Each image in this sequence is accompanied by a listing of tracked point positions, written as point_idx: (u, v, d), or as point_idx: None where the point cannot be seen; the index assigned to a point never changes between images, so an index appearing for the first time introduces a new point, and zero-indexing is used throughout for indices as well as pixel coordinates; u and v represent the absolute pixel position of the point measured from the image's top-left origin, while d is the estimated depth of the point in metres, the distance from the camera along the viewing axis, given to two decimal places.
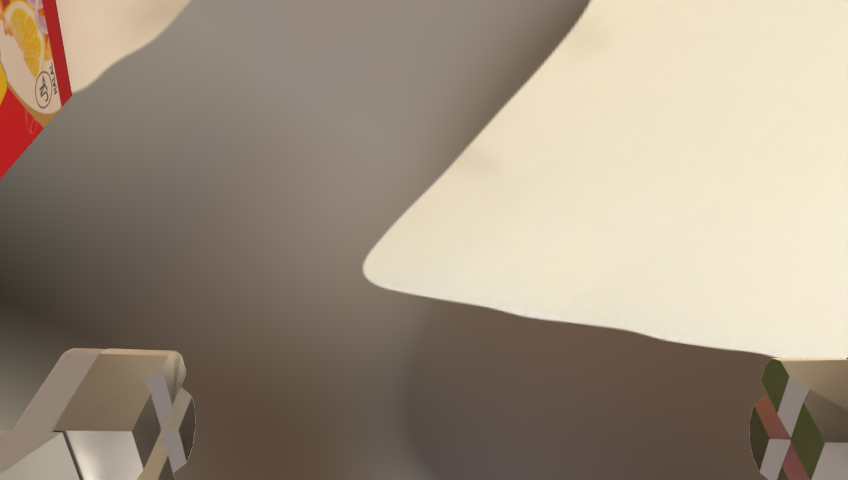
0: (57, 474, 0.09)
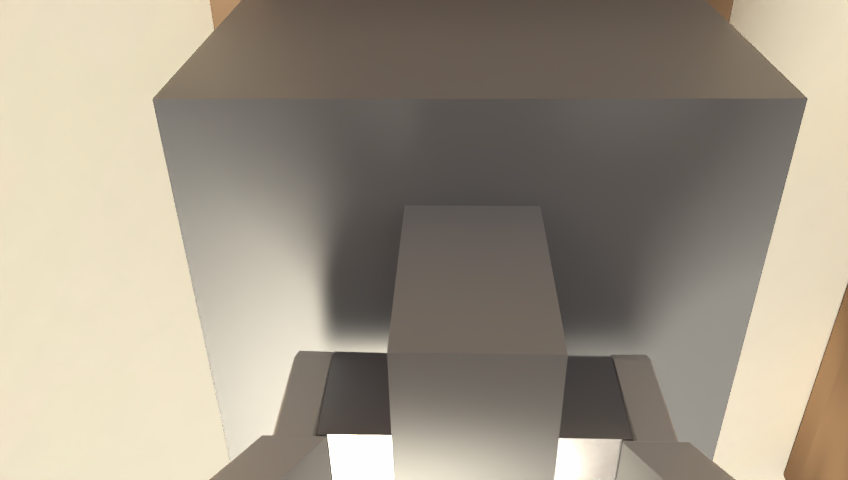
0: (319, 479, 0.09)
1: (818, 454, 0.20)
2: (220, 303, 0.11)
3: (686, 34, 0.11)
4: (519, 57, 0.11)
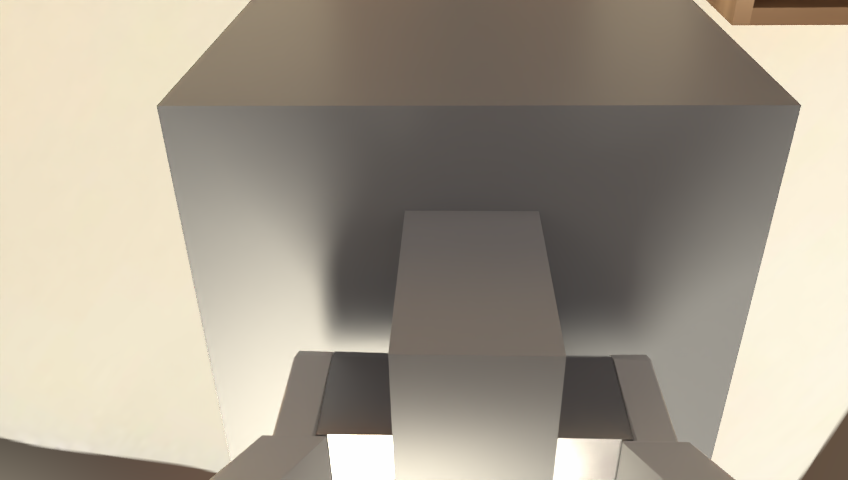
0: (319, 479, 0.09)
1: None
2: (221, 307, 0.11)
3: (682, 42, 0.12)
4: (517, 65, 0.11)
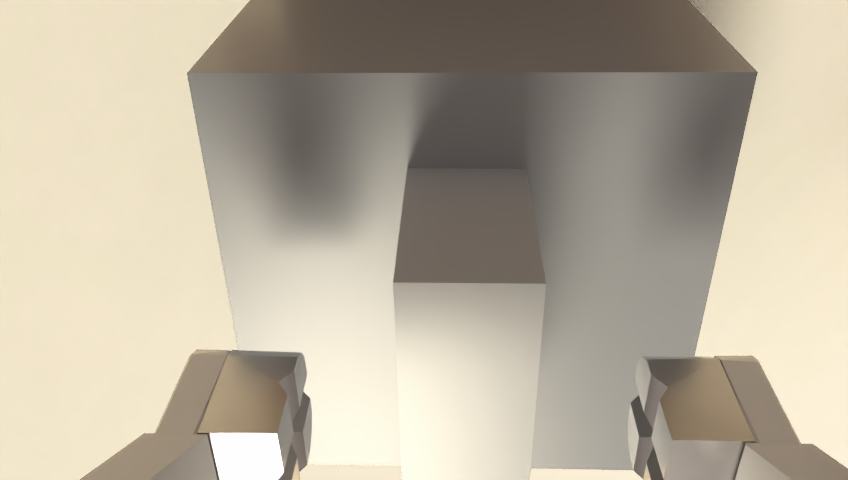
0: (201, 477, 0.09)
1: None
2: (242, 258, 0.13)
3: (658, 18, 0.13)
4: (508, 38, 0.12)
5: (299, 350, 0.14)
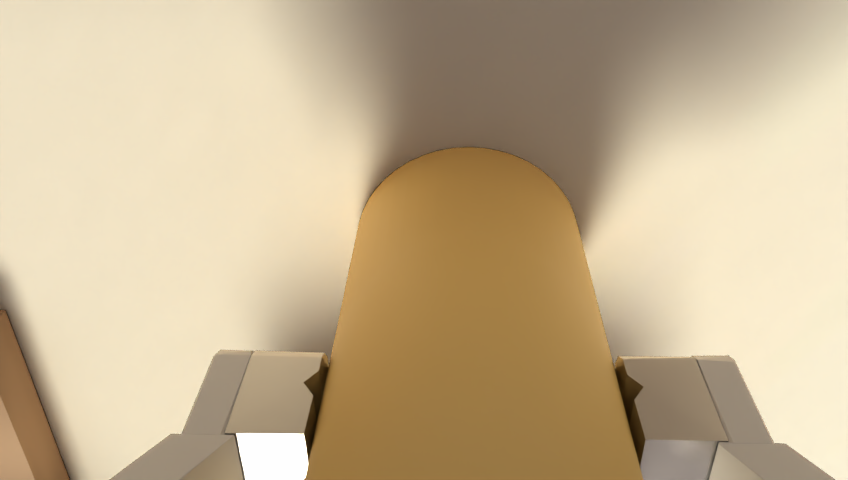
0: (227, 477, 0.09)
1: None
2: None
3: None
4: None
5: None
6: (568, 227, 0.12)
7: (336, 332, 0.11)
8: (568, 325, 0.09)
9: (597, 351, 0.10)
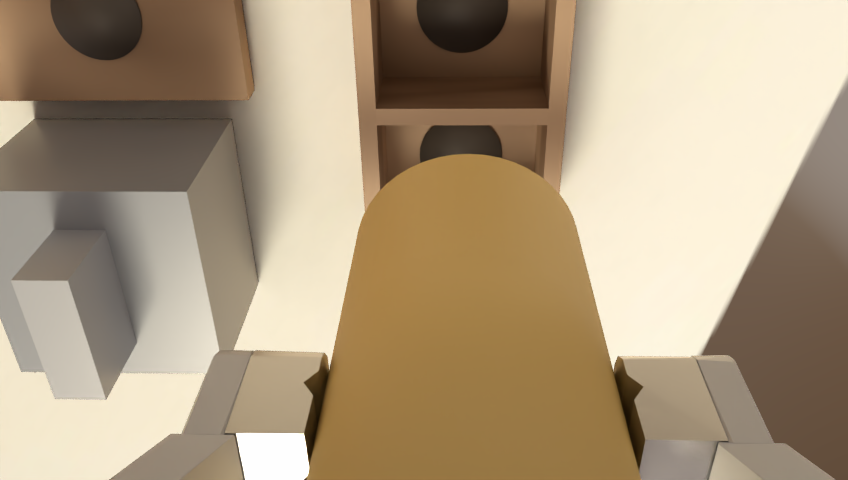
0: (227, 477, 0.09)
1: None
2: None
3: (186, 157, 0.28)
4: (105, 170, 0.27)
5: None
6: (568, 234, 0.12)
7: (336, 340, 0.11)
8: (568, 334, 0.09)
9: (597, 360, 0.09)
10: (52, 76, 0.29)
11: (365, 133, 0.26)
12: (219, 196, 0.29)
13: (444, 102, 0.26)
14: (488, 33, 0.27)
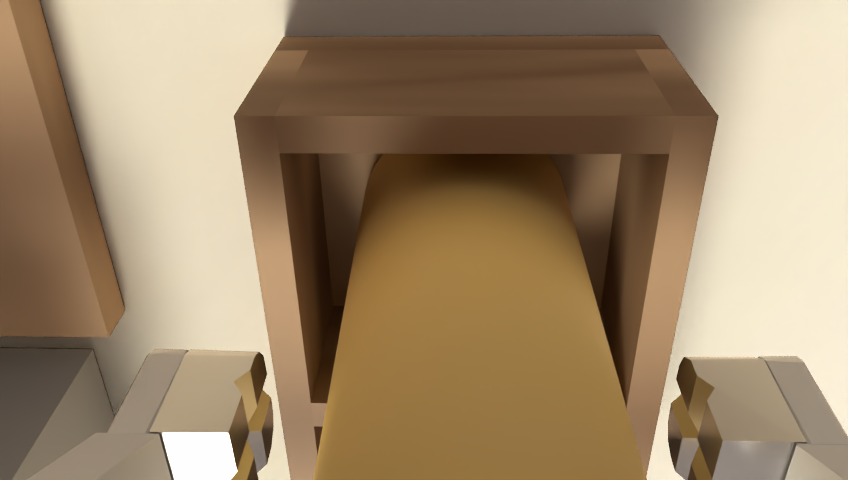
0: (153, 475, 0.09)
1: None
2: None
3: None
4: None
5: None
6: (556, 186, 0.13)
7: (350, 278, 0.12)
8: (555, 262, 0.11)
9: (581, 285, 0.11)
10: None
11: (294, 438, 0.15)
12: None
13: None
14: None
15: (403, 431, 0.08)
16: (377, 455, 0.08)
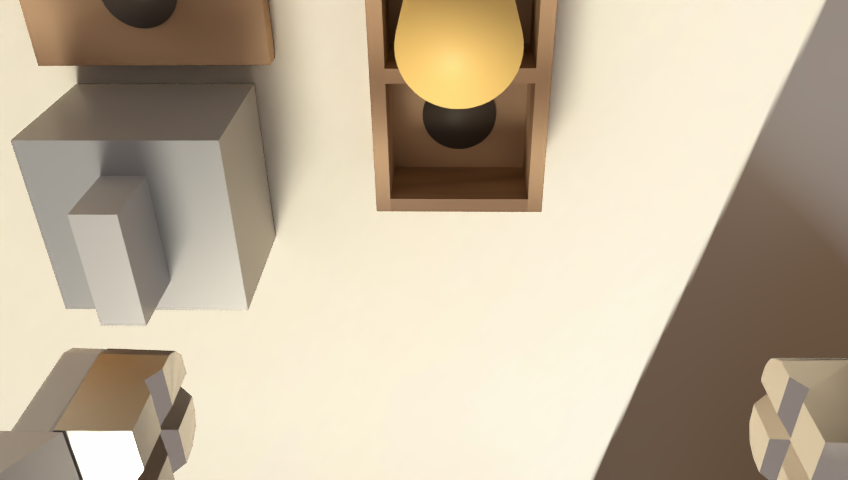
0: (57, 474, 0.09)
1: None
2: (43, 212, 0.31)
3: (216, 113, 0.31)
4: (145, 124, 0.30)
5: (73, 252, 0.32)
6: None
7: None
8: None
9: None
10: (96, 43, 0.32)
11: (375, 91, 0.30)
12: (244, 150, 0.33)
13: None
14: None
15: None
16: None
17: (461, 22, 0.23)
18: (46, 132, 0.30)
